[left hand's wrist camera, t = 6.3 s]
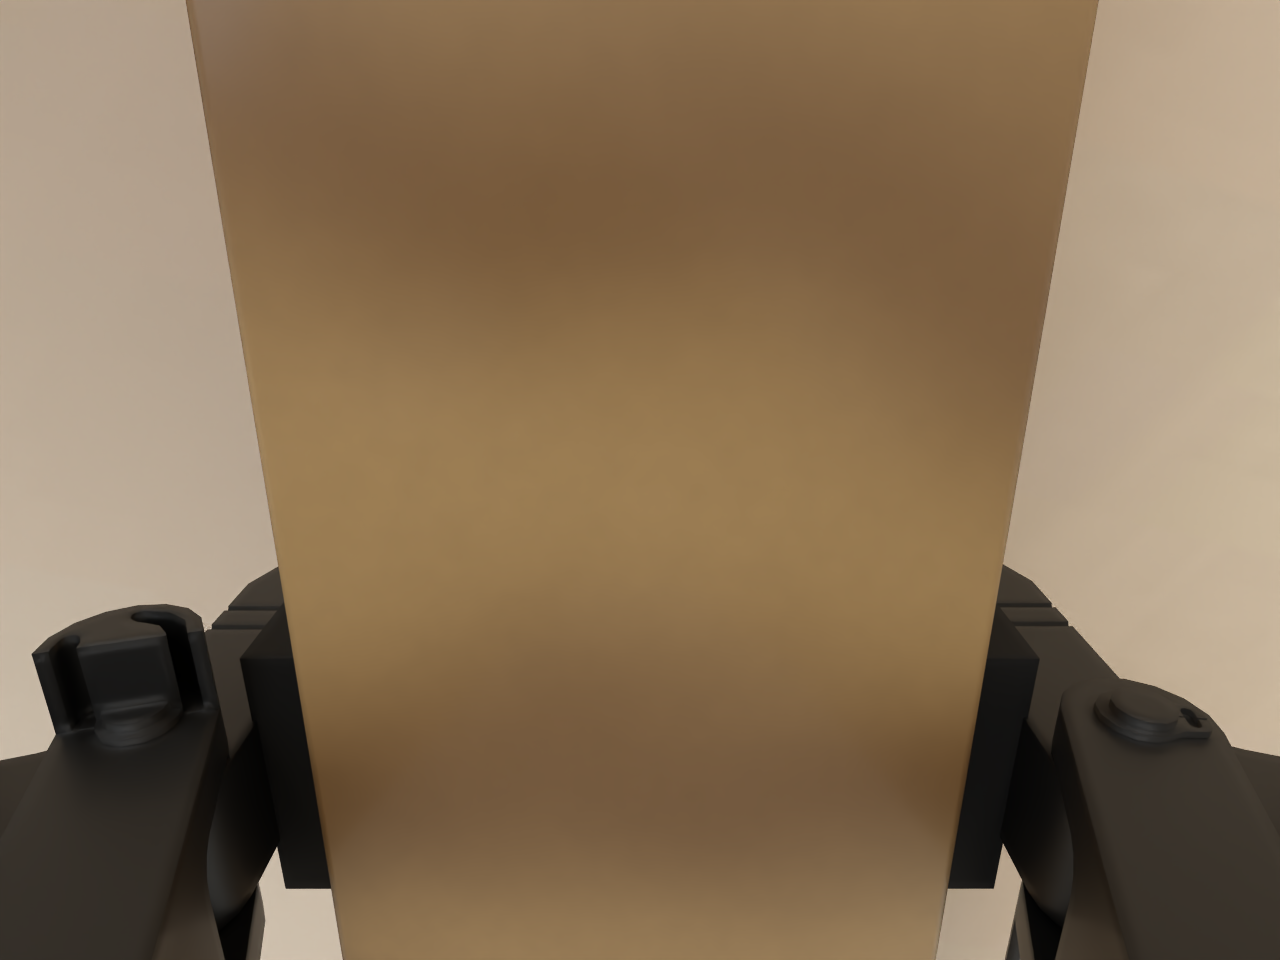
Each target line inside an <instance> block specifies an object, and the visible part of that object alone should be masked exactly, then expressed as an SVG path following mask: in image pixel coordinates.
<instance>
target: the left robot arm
mask: <svg viewBox="0 0 1280 960" xmlns="http://www.w3.org/2000/svg"><path fill="white" fill-rule="evenodd" d="M228 607H229V609H228V611H224V612H223V613H222V614H221V615H220V616H219V617H218V618H217V620H216V621H215V622H214V623H213V624H212V629H211V630H207V631H206V632H205V633H204V628H203V623H202V619H201V617H200V616H199V615H197V614H196V613H194V612H193V611H192V610H190V609H189V608H184V607H179V606H173V605H168V604H159V605H137V606H132V607H127V608H123V609H118V610H113V611H108V612H104V613H101V614H99V615H96V616H93V617H90V618H87V619H85V620H82V621H79V622H76V623H74V624H72V625H70V626H69V627H67V628H65V629H63V630H61V631H60V632H58V633H56V634H54V635H53V636H51V637H49V638H48V639H47V640H46V641H45V642H44V643H43V644H42V645H40V646H39V647H38V648H37V649H36V650H35V651H34V652H33V653H32V657H33V660H34V664H35V667H36V670H37V673H38V677H39V680H40V683H41V687H42V690H43V693H44V696H45V700H46V703H47V706H48V710H49V713H50V716H51V719H52V723H53V726H54V729H55V733H56V735H55V737H54V739H53V741H52V743H51V745H50V746H49V748H48V750H47V751H44V752H40V753H36V754H31V755H26V756H21V757H16V758H11V759H6V760H1V761H0V960H260V956H261V948H262V941H263V933H264V926H265V915H264V908H263V901H262V896H261V892H260V887H259V883H258V882H259V880H260V878H261V876H262V874H263V872H264V870H265V869H266V867H267V865H268V863H269V861H270V859H271V857H272V855H273V853H274V851H275V849H276V847H277V848H278V853H279V858H280V863H281V868H282V873H283V878H284V883H285V887H286V889H331V884H330V878H329V872H328V866H327V859H326V853H325V847H324V841H323V835H322V829H321V823H320V817H319V811H318V805H317V798H316V792H315V786H314V780H313V774H312V768H311V762H310V756H309V750H308V744H307V737H306V731H305V725H304V719H303V713H302V707H301V701H300V695H299V689H298V682H297V676H296V670H295V664H294V658H293V652H292V646H291V640H290V634H289V628H288V621H287V615H286V609H285V603H284V597H283V591H282V585H281V579H280V573H279V566H278V567H277V568H275V569H273V570H272V571H270V572H268V573H266V574H265V575H263V576H261V577H259V578H258V579H256V580H254V581H253V582H251V583H249V584H248V585H247V586H246V587H245V588H244V589H243V590H242V592H241V593H240V594H239V595H238V596H237V597H236V598H235V599H234V601H233V602H232V603H231V604H230V605H229V606H228ZM1003 844H1004V846H1005V848H1006V850H1007V852H1008V854H1009V855H1010V857H1011V859H1012V861H1013V863H1014V865H1015V867H1016V869H1017V871H1018V873H1019V875H1020V877H1021V878H1022V883H1021V887H1020V892H1019V896H1018V901H1017V906H1016V910H1015V915H1014V920H1013V924H1012V929H1011V934H1010V938H1009V943H1008V947H1007V952H1006V957H1005V960H1280V757H1279V756H1274V755H1269V754H1264V753H1259V752H1254V751H1249V750H1244V749H1240V748H1236V747H1232V746H1231V745H1230V743H1229V741H1228V739H1227V737H1226V736H1225V734H1224V732H1223V731H1222V730H1221V729H1220V728H1219V726H1218V725H1217V724H1216V723H1215V722H1214V721H1213V719H1212V718H1211V717H1210V716H1209V715H1208V714H1206V713H1205V712H1203V711H1202V710H1200V709H1199V708H1197V707H1196V706H1194V705H1193V704H1191V703H1190V702H1188V701H1187V700H1185V699H1184V698H1181V697H1179V696H1177V695H1174V694H1172V693H1169V692H1167V691H1165V690H1162V689H1160V688H1158V687H1155V686H1152V685H1147V684H1143V683H1139V682H1135V681H1131V680H1127V679H1120V678H1119V677H1118V676H1117V675H1116V674H1115V673H1114V672H1113V671H1112V670H1111V668H1110V667H1109V666H1108V665H1107V664H1106V663H1105V662H1104V661H1103V660H1102V658H1101V657H1100V656H1099V655H1098V654H1097V653H1096V652H1095V651H1094V650H1093V648H1092V647H1091V646H1090V645H1089V644H1088V643H1087V642H1086V641H1085V640H1084V638H1083V637H1082V636H1081V635H1080V634H1079V633H1078V632H1077V631H1076V630H1075V628H1074V627H1073V626H1068V621H1067V620H1066V618H1065V617H1064V616H1063V615H1062V614H1061V613H1060V612H1059V611H1058V610H1057V608H1056V607H1052V603H1051V602H1050V601H1049V600H1048V598H1047V597H1046V596H1045V595H1044V594H1043V593H1042V592H1041V591H1040V590H1039V588H1038V587H1037V586H1036V585H1035V584H1034V583H1033V582H1032V581H1031V580H1029V579H1027V578H1026V577H1024V576H1022V575H1021V574H1019V573H1017V572H1015V571H1014V570H1012V569H1010V568H1008V567H1007V566H1005V565H1002V571H1001V577H1000V583H999V589H998V595H997V601H996V607H995V612H994V618H993V624H992V630H991V636H990V642H989V648H988V654H987V659H986V665H985V671H984V677H983V683H982V689H981V695H980V701H979V707H978V712H977V718H976V724H975V730H974V736H973V742H972V748H971V754H970V759H969V765H968V771H967V777H966V783H965V789H964V795H963V801H962V807H961V812H960V818H959V824H958V830H957V836H956V842H955V848H954V854H953V859H952V865H951V871H950V877H949V883H948V889H994V885H995V880H996V875H997V870H998V865H999V860H1000V855H1001V850H1002V845H1003Z"/></svg>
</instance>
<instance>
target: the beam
mask: <svg viewBox="0 0 1280 960" xmlns="http://www.w3.org/2000/svg"><path fill="white" fill-rule="evenodd" d="M1098 1H1099V0H186V5H187V11H188V17H189V23H190V29H191V35H192V41H193V48H194V54H195V60H196V66H197V72H198V78H199V84H200V90H201V96H202V103H203V109H204V115H205V121H206V127H207V133H208V139H209V145H210V151H211V157H212V164H213V170H214V176H215V182H216V188H217V194H218V200H219V206H220V212H221V219H222V225H223V231H224V237H225V243H226V249H227V255H228V261H229V267H230V273H231V280H232V286H233V292H234V298H235V304H236V310H237V316H238V322H239V328H240V334H241V341H242V347H243V353H244V359H245V365H246V371H247V377H248V383H249V389H250V396H251V402H252V408H253V414H254V420H255V426H256V432H257V438H258V444H259V450H260V457H261V463H262V469H263V475H264V481H265V487H266V493H267V499H268V505H269V512H270V518H271V524H272V530H273V536H274V542H275V548H276V554H277V560H278V566H279V573H280V579H281V585H282V591H283V597H284V603H285V609H286V615H287V621H288V628H289V634H290V640H291V646H292V652H293V658H294V664H295V670H296V676H297V682H298V689H299V695H300V701H301V707H302V713H303V719H304V725H305V731H306V737H307V744H308V750H309V756H310V762H311V768H312V774H313V780H314V786H315V792H316V798H317V805H318V811H319V817H320V823H321V829H322V835H323V841H324V847H325V853H326V859H327V866H328V872H329V878H330V884H331V890H332V896H333V902H334V908H335V914H336V921H337V927H338V933H339V939H340V945H341V951H342V957H343V960H935V959H936V954H937V948H938V942H939V936H940V930H941V924H942V918H943V912H944V906H945V901H946V895H947V889H948V883H949V877H950V871H951V865H952V859H953V854H954V848H955V842H956V836H957V830H958V824H959V818H960V812H961V807H962V801H963V795H964V789H965V783H966V777H967V771H968V765H969V759H970V754H971V748H972V742H973V736H974V730H975V724H976V718H977V712H978V707H979V701H980V695H981V689H982V683H983V677H984V671H985V665H986V659H987V654H988V648H989V642H990V636H991V630H992V624H993V618H994V612H995V607H996V601H997V595H998V589H999V583H1000V577H1001V571H1002V565H1003V559H1004V554H1005V548H1006V542H1007V536H1008V530H1009V524H1010V518H1011V512H1012V507H1013V501H1014V495H1015V489H1016V483H1017V477H1018V471H1019V465H1020V459H1021V454H1022V448H1023V442H1024V436H1025V430H1026V424H1027V418H1028V412H1029V407H1030V401H1031V395H1032V389H1033V383H1034V377H1035V371H1036V365H1037V359H1038V354H1039V348H1040V342H1041V336H1042V330H1043V324H1044V318H1045V312H1046V307H1047V301H1048V295H1049V289H1050V283H1051V277H1052V271H1053V265H1054V259H1055V254H1056V248H1057V242H1058V236H1059V230H1060V224H1061V218H1062V212H1063V207H1064V201H1065V195H1066V189H1067V183H1068V177H1069V171H1070V165H1071V159H1072V154H1073V148H1074V142H1075V136H1076V130H1077V124H1078V118H1079V112H1080V107H1081V101H1082V95H1083V89H1084V83H1085V77H1086V71H1087V65H1088V59H1089V54H1090V48H1091V42H1092V36H1093V30H1094V24H1095V18H1096V12H1097V7H1098Z"/></svg>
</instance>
